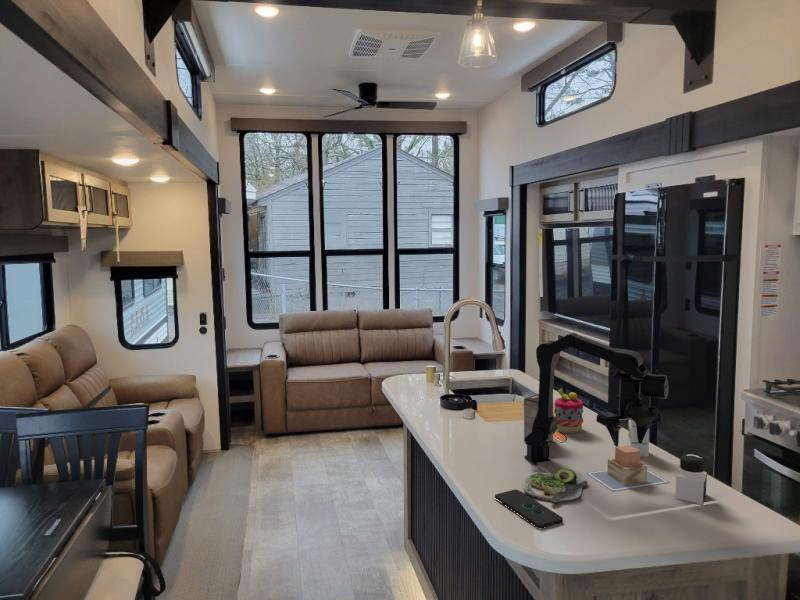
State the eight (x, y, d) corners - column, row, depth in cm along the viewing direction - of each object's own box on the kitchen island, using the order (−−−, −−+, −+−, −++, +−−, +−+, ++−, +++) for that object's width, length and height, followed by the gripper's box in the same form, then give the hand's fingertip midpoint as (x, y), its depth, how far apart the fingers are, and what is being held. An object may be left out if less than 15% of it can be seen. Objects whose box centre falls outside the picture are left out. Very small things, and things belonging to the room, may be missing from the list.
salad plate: (583, 512, 162) (583, 496, 161) (516, 502, 168) (517, 486, 168) (588, 483, 179) (589, 468, 179) (528, 475, 186) (529, 461, 185)
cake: (581, 425, 231) (581, 387, 230) (584, 434, 221) (585, 394, 219) (553, 423, 233) (553, 386, 232) (555, 433, 223) (555, 393, 221)
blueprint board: (612, 493, 172) (612, 491, 172) (584, 474, 185) (584, 472, 185) (671, 484, 177) (671, 482, 177) (640, 466, 190) (640, 464, 190)
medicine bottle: (703, 506, 163) (705, 463, 162) (674, 500, 167) (676, 458, 166) (706, 496, 169) (707, 455, 168) (678, 490, 173) (680, 450, 172)
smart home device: (538, 525, 152) (493, 494, 170) (538, 531, 152) (493, 500, 170) (564, 517, 155) (517, 488, 173) (564, 523, 156) (517, 494, 173)
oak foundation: (623, 484, 176) (624, 469, 176) (607, 474, 184) (607, 459, 183) (647, 481, 178) (647, 465, 178) (629, 470, 186) (630, 456, 185)
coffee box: (538, 435, 220) (539, 393, 219) (553, 440, 216) (554, 396, 214) (523, 441, 214) (523, 398, 213) (538, 446, 210) (538, 401, 208)
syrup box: (648, 458, 197) (650, 415, 196) (630, 457, 198) (631, 414, 197) (645, 452, 203) (647, 410, 201) (627, 451, 204) (628, 409, 202)
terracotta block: (625, 469, 177) (625, 452, 177) (614, 462, 182) (615, 446, 182) (639, 466, 179) (640, 450, 178) (629, 460, 184) (629, 445, 183)
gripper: (619, 404, 168) (617, 458, 170) (675, 398, 173) (673, 450, 175) (596, 394, 178) (594, 444, 180) (649, 388, 183) (647, 437, 185)
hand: (628, 444), depth 180 cm, fingers open, 8 cm apart
